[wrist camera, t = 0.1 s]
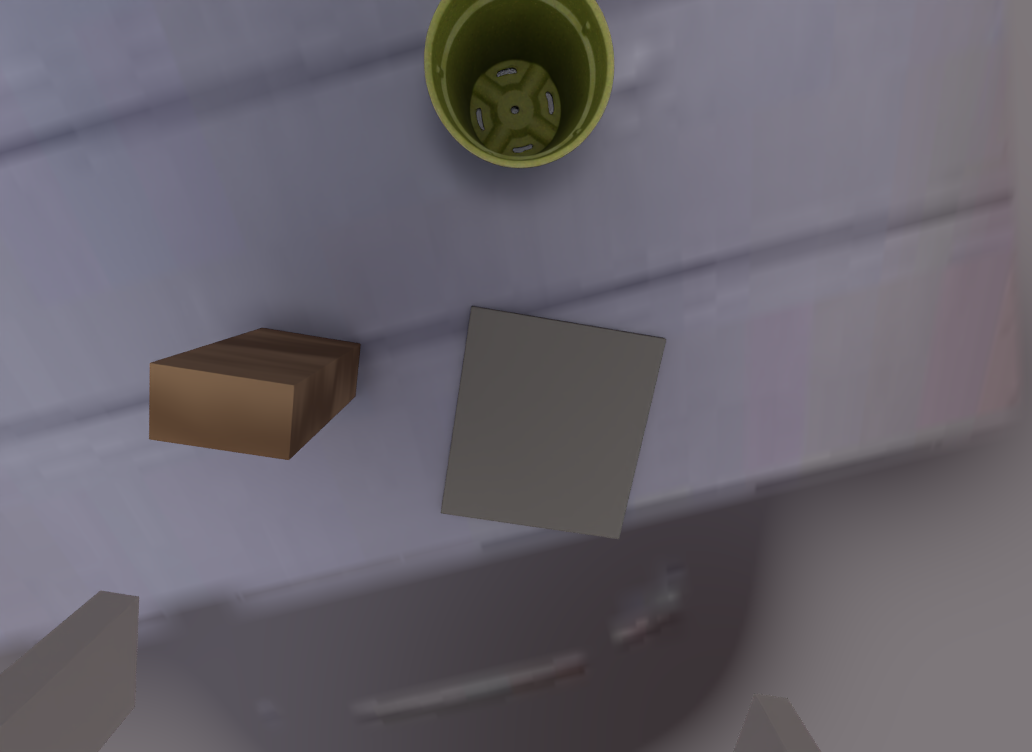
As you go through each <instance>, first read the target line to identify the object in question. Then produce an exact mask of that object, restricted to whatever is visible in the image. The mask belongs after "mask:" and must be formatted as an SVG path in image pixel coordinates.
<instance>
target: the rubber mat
mask: <svg viewBox="0 0 1032 752" xmlns="http://www.w3.org/2000/svg"><path fill="white" fill-rule="evenodd" d="M665 343H666V339H665V338H661V337H655V336H649V335H643V334H637V333H631V332H625V331H619V330H613V329H607V328H601V327H595V326H589V325H583V324H577V323H571V322H565V321H559V320H553V319H547V318H541V317H535V316H529V315H523V314H517V313H511V312H505V311H499V310H493V309H487V308H481V307H475V306H472V307H471V314H470V321H469V327H468V334H467V341H466V347H465V354H464V361H463V368H462V374H461V381H460V388H459V395H458V401H457V408H456V415H455V421H454V428H453V435H452V442H451V448H450V455H449V462H448V469H447V475H446V482H445V489H444V495H443V502H442V509H441V513H443V514H450V515H456V516H463V517H470V518H477V519H484V520H491V521H498V522H505V523H511V524H518V525H525V526H532V527H539V528H546V529H553V530H560V531H567V532H573V533H580V534H587V535H594V536H601V537H608V538H615V539H619V536H620V532H621V528H622V524H623V520H624V515H625V511H626V507H627V503H628V499H629V494H630V490H631V486H632V482H633V477H634V473H635V469H636V465H637V461H638V456H639V452H640V448H641V444H642V440H643V435H644V431H645V427H646V423H647V419H648V414H649V410H650V406H651V402H652V398H653V393H654V389H655V385H656V381H657V376H658V372H659V368H660V364H661V360H662V355H663V351H664V347H665Z"/></svg>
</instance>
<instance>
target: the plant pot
mask: <svg viewBox="0 0 1032 752" xmlns="http://www.w3.org/2000/svg"><path fill="white" fill-rule="evenodd" d="M507 68H514V69H516V70H517V73H513V74H505V75H502V76H500V77H497V73H498V72H499V71H501V70H503V69H507ZM424 69H425V78H426V84H427V88H428V92H429V95H430V98H431V101H432V104H433V106H434V109H435V111H436V113H437V115H438V116H439V118H440V120H441V121H442V123H443V125H444V126H445V127H446V129H447V130H448V131H449V133H450V134H451V135H452V136H453V137H454V138H455V139H456V140H457V141H458V142H459V143H460V144H461V145H462V146H463V147H464V148H466V149H467V150H468V151H469V152H471V153H472V154H474V155H476V156H477V157H479V158H481V159H483V160H485V161H487V162H490V163H493V164H496V165H499V166H504V167H510V168H529V167H536V166H541V165H544V164H547V163H550V162H553V161H555V160H557V159H560V158H561V157H563V156H565V155H567V154H568V153H570V152H571V151H573V150H574V149H575V148H576V147H578V146H579V145H580V144H581V143H582V142H583V141H584V140H585V139H586V138H587V137H588V136H589V134H590V133H591V132H592V130H593V129H594V128H595V126H596V125H597V123H598V122H599V120H600V118H601V117H602V115H603V113H604V111H605V108H606V106H607V103H608V100H609V98H610V93H611V90H612V84H613V78H614V52H613V45H612V40H611V35H610V32H609V28H608V25H607V23H606V20H605V17H604V15H603V13H602V11H601V9H600V7H599V6H598V4H597V2H596V1H595V0H441V2H440V3H439V5H438V7H437V9H436V11H435V13H434V15H433V18H432V20H431V23H430V26H429V29H428V32H427V36H426V42H425V50H424ZM546 92H549V93H550V94H551V95H552V97H553V103H554V112H553V114H549V108H548V100H547V98H546ZM513 106H518V108H519V112H518V113H516V114H513V113H512V112H511V108H512V107H513ZM478 108H480V109H481V111H482V112H481V113H482V120H483V124H484V128H485V130H482V129H481V128H480V126H479V124H478V122H477V117H476V111H477V109H478ZM529 144H532V145H533V146H532V149H530V150H525V151H523V152H522V153H515V152H514V151H513V148H518V147H523V146H527V145H529Z"/></svg>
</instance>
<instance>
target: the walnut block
mask: <svg viewBox="0 0 1032 752" xmlns="http://www.w3.org/2000/svg"><path fill="white" fill-rule="evenodd" d="M360 345H361V344H360V343H353V342H347V341H341V340H335V339H329V338H322V337H316V336H310V335H304V334H298V333H291V332H285V331H279V330H273V329H267V328H260V329H257V330H254V331H250V332H247V333H244V334H241V335H238V336H234V337H231V338H228V339H225V340H222V341H218V342H215V343H212V344H209V345H206V346H202V347H199V348H196V349H193V350H190V351H187V352H183V353H180V354H177V355H174V356H171V357H167V358H164V359H161V360H158V361H155V362H151V363H150V405H149V439H151V440H157V441H164V442H171V443H177V444H184V445H191V446H198V447H204V448H211V449H218V450H225V451H231V452H238V453H245V454H252V455H258V456H265V457H272V458H279V459H285V460H289V459H290V458H292V457H293V456H294V455H295V454H296V453H297V452H298V451H299V450H300V449H301V448H302V447H303V446H304V445H305V444H306V443H307V442H308V441H309V440H310V439H311V438H312V437H314V436H315V435H316V434H317V433H318V432H319V431H320V430H321V429H322V428H323V427H324V426H325V425H326V424H327V423H328V422H329V421H330V420H331V419H332V418H333V417H334V416H335V415H337V414H338V413H339V412H340V411H341V410H342V409H343V408H344V407H345V406H346V405H347V404H348V403H349V402H350V401H351V400H352V399H353V398H354V397H355V395H356V385H357V375H358V365H359V355H360Z"/></svg>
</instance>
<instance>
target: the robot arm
mask: <svg viewBox="0 0 1032 752" xmlns="http://www.w3.org/2000/svg"><path fill="white" fill-rule="evenodd" d="M138 613H139V597H138V596H132V595H125V594H119V593H113V592H106V591H99V592H98V593H97V594H96V595H94V596H93V597H92V598H91V599H90V600H88V601H87V602H86V603H85V604H84V605H82V606H81V607H80V608H79V609H78V610H76V611H75V612H74V613H73V614H72V615H70V616H69V617H68V618H67V619H66V620H64V621H63V622H62V623H61V624H60V625H58V626H57V627H56V628H55V629H54V630H52V631H51V632H50V633H49V634H48V635H46V636H45V637H44V638H43V639H42V640H40V641H39V642H38V643H37V644H36V645H34V646H33V647H32V648H31V649H30V650H28V651H27V652H26V653H25V654H24V655H22V656H21V657H20V658H19V659H18V660H16V661H15V662H14V663H13V664H12V665H11V666H9V667H8V668H7V669H6V670H4V671H3V672H2V673H1V674H0V752H98V751H99V750H100V749H101V748H102V746H103V745H104V744H105V743H106V742H107V740H108V739H109V738H110V737H111V735H112V734H113V733H114V732H115V730H116V729H117V728H118V727H119V726H120V724H121V723H122V722H123V721H124V720H125V718H126V717H127V716H128V715H129V713H130V712H131V711H132V710H133V709H134V707H135V692H136V665H137V639H138ZM733 752H821V751H820V749H819V747H818V746H817V744H816V743H815V741H814V739H813V738H812V736H811V735H810V733H809V731H808V730H807V728H806V727H805V725H804V723H803V722H802V720H801V719H800V717H799V716H798V714H797V712H796V711H795V709H794V707H793V706H792V704H791V703H790V701H789V700H788V698H782V697H776V696H769V695H763V694H757V693H754V696H753V699H752V701H751V704H750V707H749V710H748V712H747V715H746V718H745V721H744V723H743V726H742V729H741V732H740V734H739V737H738V740H737V743H736V745H735V748H734V751H733Z"/></svg>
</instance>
